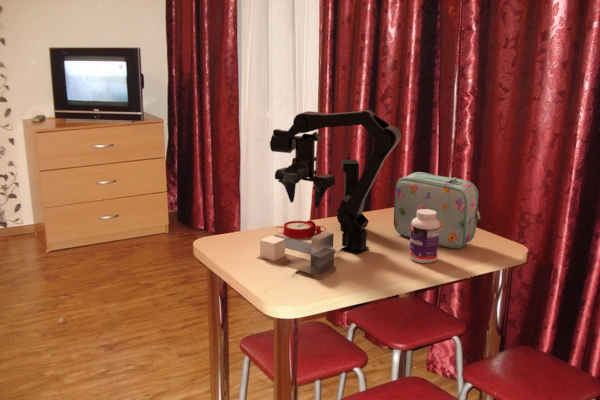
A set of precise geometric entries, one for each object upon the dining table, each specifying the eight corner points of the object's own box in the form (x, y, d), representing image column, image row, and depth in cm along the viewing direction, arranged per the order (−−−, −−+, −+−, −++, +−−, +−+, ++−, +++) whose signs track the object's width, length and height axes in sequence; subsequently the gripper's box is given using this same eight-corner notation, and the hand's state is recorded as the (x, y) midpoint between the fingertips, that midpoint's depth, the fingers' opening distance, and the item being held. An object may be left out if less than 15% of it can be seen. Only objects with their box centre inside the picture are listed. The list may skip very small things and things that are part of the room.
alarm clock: (273, 223, 203) (315, 209, 207) (277, 241, 205) (319, 226, 209) (285, 233, 193) (329, 218, 198) (289, 251, 195) (332, 236, 200)
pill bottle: (403, 256, 185) (406, 209, 181) (426, 253, 188) (430, 206, 184) (419, 266, 178) (422, 216, 174) (442, 262, 181) (446, 214, 177)
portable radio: (359, 232, 206) (362, 156, 200) (341, 231, 206) (343, 156, 200) (357, 224, 214) (360, 152, 207) (340, 224, 214) (342, 151, 207)
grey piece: (335, 252, 187) (335, 233, 185) (320, 260, 181) (320, 240, 179) (276, 237, 199) (276, 219, 198) (260, 244, 193) (260, 225, 191)
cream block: (284, 255, 181) (285, 239, 180) (274, 260, 177) (274, 243, 176) (271, 251, 184) (271, 235, 182) (260, 256, 180) (260, 240, 178)
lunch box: (481, 246, 195) (487, 178, 189) (466, 254, 188) (472, 184, 182) (406, 227, 212) (410, 165, 206) (389, 235, 204) (393, 170, 198)
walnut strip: (336, 270, 173) (337, 249, 172) (320, 279, 167) (320, 258, 165) (272, 253, 185) (272, 234, 184) (255, 261, 179) (255, 241, 178)
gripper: (263, 154, 187) (263, 205, 192) (315, 162, 177) (314, 216, 181) (286, 149, 196) (285, 197, 200) (336, 156, 186) (335, 207, 190)
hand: (304, 204), depth 193 cm, fingers open, 9 cm apart
